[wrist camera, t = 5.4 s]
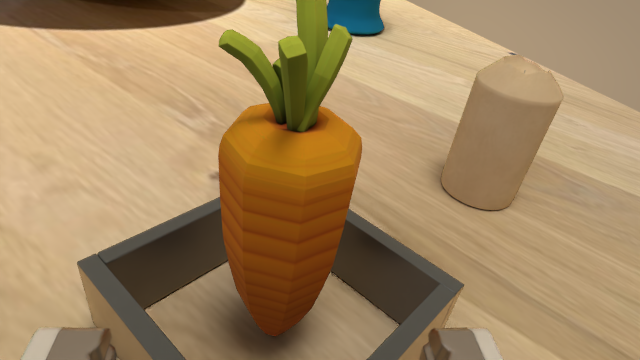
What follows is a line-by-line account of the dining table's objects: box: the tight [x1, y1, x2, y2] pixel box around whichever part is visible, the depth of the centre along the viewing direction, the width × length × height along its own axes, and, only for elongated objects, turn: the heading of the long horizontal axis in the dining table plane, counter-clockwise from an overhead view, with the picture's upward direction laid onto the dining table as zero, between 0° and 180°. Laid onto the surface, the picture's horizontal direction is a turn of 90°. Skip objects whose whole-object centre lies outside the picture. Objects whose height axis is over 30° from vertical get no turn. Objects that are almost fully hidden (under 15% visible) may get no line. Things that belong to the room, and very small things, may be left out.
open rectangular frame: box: [77, 197, 464, 360], centre depth 19 cm, size 12×12×4 cm
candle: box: [441, 55, 564, 210], centre depth 30 cm, size 6×6×10 cm
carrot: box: [218, 0, 362, 336], centre depth 16 cm, size 5×5×15 cm
